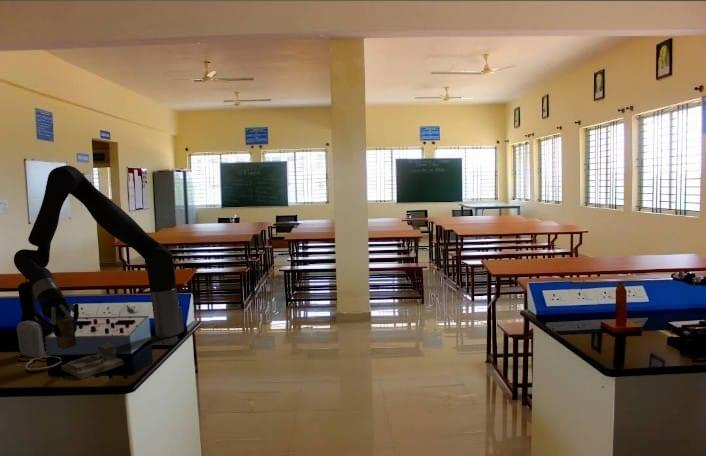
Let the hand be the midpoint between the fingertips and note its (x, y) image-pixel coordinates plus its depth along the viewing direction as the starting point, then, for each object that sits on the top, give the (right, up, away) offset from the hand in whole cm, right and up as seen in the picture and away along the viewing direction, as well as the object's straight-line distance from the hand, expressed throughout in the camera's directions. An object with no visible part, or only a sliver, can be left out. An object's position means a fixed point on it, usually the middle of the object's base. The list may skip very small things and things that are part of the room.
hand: (67, 333), depth 167 cm
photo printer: (-20, -11, +14) cm, 26 cm away
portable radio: (-34, -10, +36) cm, 50 cm away
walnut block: (-1, -5, +2) cm, 5 cm away
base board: (+11, -10, -6) cm, 16 cm away
